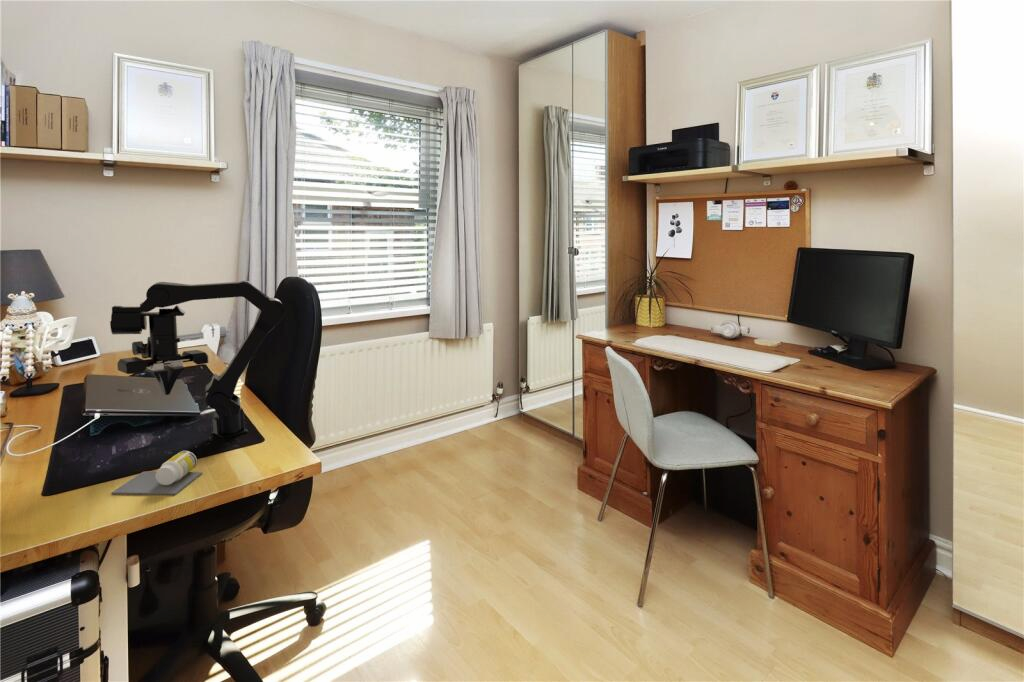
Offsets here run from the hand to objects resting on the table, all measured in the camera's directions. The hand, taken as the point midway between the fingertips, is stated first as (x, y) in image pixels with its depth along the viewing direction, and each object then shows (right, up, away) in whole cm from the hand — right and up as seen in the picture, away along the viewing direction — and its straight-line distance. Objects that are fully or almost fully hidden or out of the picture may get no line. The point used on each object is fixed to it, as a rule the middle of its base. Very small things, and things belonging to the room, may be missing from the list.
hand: (166, 394), depth 138 cm
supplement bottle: (+14, -13, -16) cm, 25 cm away
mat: (+12, -17, -21) cm, 30 cm away
